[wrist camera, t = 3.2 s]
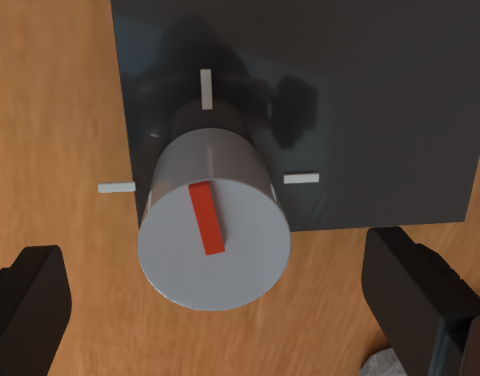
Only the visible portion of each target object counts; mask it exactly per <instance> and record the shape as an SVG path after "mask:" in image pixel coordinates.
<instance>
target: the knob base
mask: <svg viewBox="0 0 480 376" xmlns="http://www.w3.org/2000/svg"><path fill="white" fill-rule="evenodd" d="M110 2H111V10H112V18H113V26H114V34H115V42H116V50H117V58H118V66H119V74H120V82H121V90H122V98H123V106H124V114H125V122H126V130H127V138H128V146H129V154H130V162H131V170H132V178H133V181H127V182H106V183H98V190H99V193H103V192H124V191H134V194H135V202H136V210H137V218H138V226H139V230H140V226H141V222H142V218H143V214H144V210H145V206H146V202H147V198H148V194H149V190H150V187H151V183H152V179H153V175H154V171H155V167H156V164H157V162H158V159H159V157H160V156H161V154H162V152H163V151H164V150H165V148H166V147H167V146H168V145H169V144H170V143H171V142H173V141H174V140H175V139H176V138H178V137H180V136H181V135H183V134H185V133H188V132H190V131H193V130H197V129H203V128H218V129H224V130H228V131H231V132H234V133H236V134H238V135H240V136H242V137H243V138H245V139H246V140H247V141H249V142H250V143H251V144H252V145H253V146H254V147H255V149H256V150H257V151H258V153H259V155H260V156H261V158H262V160H263V163H264V165H265V168H266V170H267V173H268V175H269V177H270V180H271V182H272V185H273V187H274V190H275V192H276V195H277V197H278V199H279V202H280V204H281V207H282V209H283V212H284V214H285V217H286V219H287V221H288V224H289V228H290V232H296V231H313V230H331V229H348V228H365V227H382V226H399V225H417V224H434V223H451V222H464V221H465V218H466V214H467V209H468V205H469V200H470V196H471V191H472V187H473V182H474V178H475V174H476V169H477V165H478V160H479V156H480V0H110Z"/></svg>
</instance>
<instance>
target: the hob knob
mask: <svg viewBox="0 0 480 376" xmlns="http://www.w3.org/2000/svg"><path fill="white" fill-rule="evenodd" d="M137 251H138V258H139V262H140V265H141V268H142V270H143V272H144V274H145V276H146V277H147V279H148V281H149V282H150V283H151V284H152V286H153V287H154V288H155V289H156V290H157V291H158V292H159V293H161V294H162V295H163V296H165V297H166V298H167V299H169V300H171V301H173V302H175V303H177V304H179V305H182V306H184V307H188V308H191V309H196V310H202V311H221V310H228V309H233V308H236V307H240V306H242V305H245V304H248V303H250V302H252V301H254V300H256V299H257V298H259V297H260V296H262V295H263V294H265V293H266V292H267V291H268V290H269V289H270V288H271V287H272V286H273V285H274V284H275V283H276V282H277V281H278V279H279V278H280V276H281V275H282V273H283V271H284V270H285V268H286V265H287V263H288V260H289V257H290V252H291V232H290V228H289V224H288V221H287V219H286V217H285V214H284V212H283V209H282V207H281V204H280V202H279V199H278V197H277V195H276V192H275V190H274V187H273V185H272V182H271V180H270V177H269V175H268V173H267V170H266V168H265V165H264V163H263V160H262V158H261V156H260V155H259V153H258V151H257V150H256V149H255V147H254V146H253V145H252V144H251V143H250V142H249V141H247V140H246V139H245V138H243V137H242V136H240V135H238V134H236V133H234V132H231V131H228V130H224V129H218V128H203V129H197V130H193V131H190V132H188V133H185V134H183V135H181V136H180V137H178V138H176V139H175V140H174V141H173V142H171V143H170V144H169V145H168V146H167V147H166V148H165V150H164V151H163V152H162V154H161V156H160V157H159V159H158V162H157V164H156V167H155V171H154V175H153V179H152V183H151V187H150V190H149V194H148V198H147V202H146V206H145V210H144V214H143V218H142V222H141V226H140V230H139V234H138V240H137Z"/></svg>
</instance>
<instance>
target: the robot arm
mask: <svg viewBox="0 0 480 376" xmlns="http://www.w3.org/2000/svg"><path fill="white" fill-rule="evenodd" d="M361 283H362V290H363V294H364V297H365V300H366V302H367V304H368V305H369V307H370V309H371V311H372V313H373V314H374V316H375V318H376V320H377V322H378V323H379V325H380V327H381V329H382V331H383V333H384V334H385V336H386V338H387V340H388V342H389V343H390V345H391V347H392V349H393V351H394V352H395V354H396V356H397V358H398V360H399V361H400V363H401V365H402V367H403V369H404V370H405V372H406V374H407V376H480V297H479V296H478V295H477V294H476V293H475V292H474V291H473V290H472V289H471V288H470V287H469V286H468V285H467V284H466V283H465V282H464V280H463V279H460V276H459V275H458V274H457V273H456V272H455V271H454V270H453V269H450V266H449V265H448V263H447V262H446V261H445V260H444V259H443V258H442V257H441V256H440V255H439V254H438V253H436V252H435V251H433V250H431V249H429V248H428V247H426V246H424V245H422V244H421V243H419V244H415V243H414V242H413V241H412V240H411V238H410V237H409V236H408V235H407V234H406V233H405V232H404V231H403V229H402V228H401V227H399V226H393V227H375V228H370V229H369V230H368V232H367V236H366V243H365V252H364V260H363V268H362V277H361ZM71 308H72V299H71V292H70V288H69V283H68V278H67V274H66V269H65V265H64V260H63V255H62V252H61V249H60V247H59V246H58V245H48V246H31V247H25V248H24V249H23V250H22V251H21V253H20V254H19V256H18V257H17V258H16V260H15V261H14V263H13V264H12V266H11V267H9V268H2V269H1V270H0V376H47V374H48V372H49V369H50V367H51V364H52V362H53V359H54V357H55V354H56V352H57V349H58V347H59V344H60V342H61V339H62V337H63V334H64V332H65V329H66V327H67V325H68V322H69V319H70V315H71Z"/></svg>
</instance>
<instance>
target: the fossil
mask: <svg viewBox="0 0 480 376" xmlns="http://www.w3.org/2000/svg"><path fill="white" fill-rule="evenodd" d="M359 376H407V374H406V372H405V370H404V369H403V367H402V365H401V363H400V361H399V360H398V358H397V356H396V354H395V352H394V351H393V349H392V348H389V349H386V350H382V351H380V352H378V353H376V354H374V355H372V356H371V357H370V358H369V359H368V360H367V361H366V363H365V364H364V365H363V368H362V369H361V370H360V371H359Z"/></svg>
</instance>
